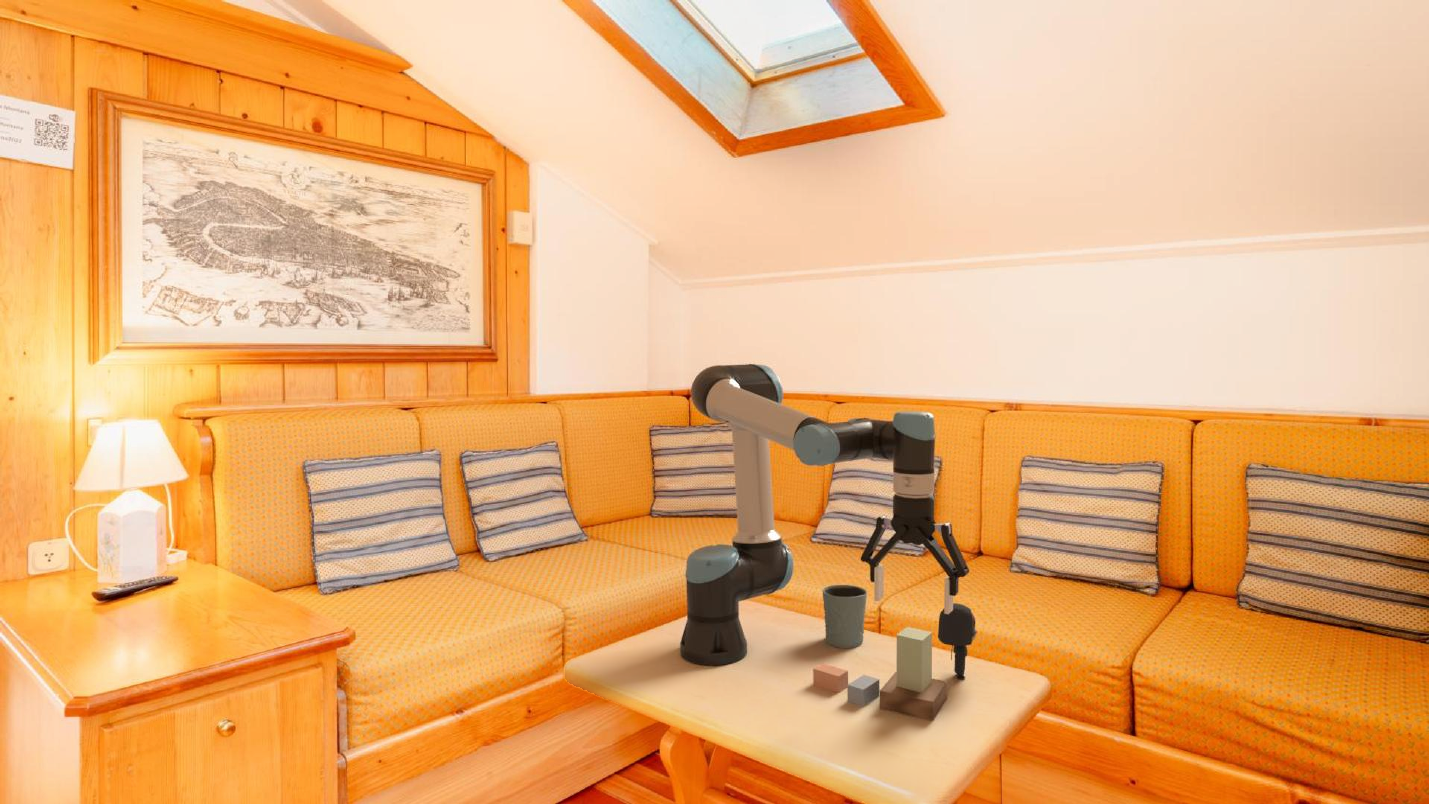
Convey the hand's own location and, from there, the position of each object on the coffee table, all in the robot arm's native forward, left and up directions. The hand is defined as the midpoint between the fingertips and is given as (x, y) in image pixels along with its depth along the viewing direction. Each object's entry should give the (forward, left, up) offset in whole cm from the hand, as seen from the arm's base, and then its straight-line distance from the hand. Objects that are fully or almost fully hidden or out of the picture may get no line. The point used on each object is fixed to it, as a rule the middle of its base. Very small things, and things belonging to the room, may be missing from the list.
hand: (912, 605), depth 147 cm
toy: (+3, +17, -19) cm, 26 cm away
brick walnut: (0, 0, -20) cm, 20 cm away
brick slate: (-9, -3, -19) cm, 21 cm away
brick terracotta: (-17, -1, -19) cm, 26 cm away
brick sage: (0, 0, -15) cm, 15 cm away
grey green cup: (-25, +23, -19) cm, 39 cm away
